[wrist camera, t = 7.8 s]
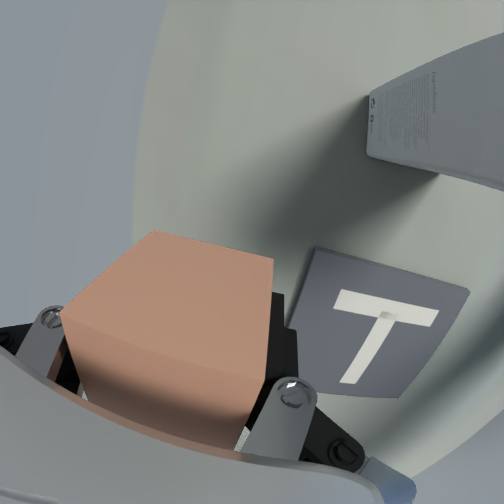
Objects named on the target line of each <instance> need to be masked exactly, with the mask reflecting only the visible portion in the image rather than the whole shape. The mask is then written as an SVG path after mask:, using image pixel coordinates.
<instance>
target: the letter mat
mask: <svg viewBox="0 0 504 504" xmlns="http://www.w3.org/2000/svg"><path fill="white" fill-rule="evenodd" d="M469 294H470V291H469V290H468V289H467V288H464V287H460V286H457V285H454V284H450V283H447V282H443V281H440V280H437V279H433V278H430V277H426V276H423V275H419V274H416V273H412V272H408V271H405V270H401V269H398V268H394V267H390V266H387V265H383V264H380V263H376V262H372V261H368V260H365V259H361V258H357V257H354V256H350V255H346V254H342V253H338V252H335V251H331V250H327V249H323V248H319V247H315V249H314V252H313V255H312V258H311V261H310V264H309V267H308V270H307V273H306V276H305V279H304V282H303V285H302V288H301V290H300V293H299V296H298V299H297V302H296V304H295V307H294V310H293V312H292V315H291V318H290V320H289V323H288V326H287V328H290V329H295V330H296V331H297V346H298V370H299V378H301V379H303V380H305V381H307V382H308V383H309V384H311V385H312V386H313V388H314V389H315V391H316V392H319V393H327V394H336V395H347V396H359V397H376V398H399V397H400V396H401V394H402V393H403V392H404V391H405V390H406V388H407V387H408V386H409V385H410V384H411V382H412V381H413V380H414V379H415V377H416V376H417V375H418V374H419V372H420V371H421V370H422V368H423V367H424V366H425V364H426V363H427V362H428V360H429V359H430V357H431V356H432V355H433V353H434V352H435V350H436V349H437V347H438V346H439V345H440V343H441V342H442V340H443V338H444V337H445V335H446V334H447V332H448V331H449V329H450V327H451V326H452V324H453V323H454V321H455V319H456V318H457V316H458V314H459V312H460V311H461V309H462V307H463V305H464V303H465V302H466V300H467V298H468V296H469Z"/></svg>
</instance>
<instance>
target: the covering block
mask: <svg viewBox="0 0 504 504" xmlns="http://www.w3.org/2000/svg"><path fill="white" fill-rule="evenodd" d="M273 266H274V259H272V258H268V257H264V256H260V255H255V254H251V253H247V252H243V251H239V250H235V249H230V248H226V247H222V246H218V245H214V244H210V243H205V242H201V241H197V240H193V239H189V238H185V237H181V236H176V235H172V234H168V233H164V232H160V231H156V230H153V231H152V232H151V233H149V234H148V235H147V236H146V237H144V238H143V239H142V240H141V241H139V242H138V243H137V244H136V245H134V246H133V247H132V248H131V249H130V250H129V251H127V252H126V253H125V254H124V255H122V256H121V257H120V258H119V259H118V260H116V261H115V262H114V263H113V264H112V265H111V266H109V267H108V268H107V269H106V270H105V271H104V272H102V273H101V274H100V275H99V276H98V277H97V278H96V279H95V280H94V281H92V282H91V283H90V284H89V285H88V286H87V287H86V288H85V289H84V290H82V291H81V292H80V293H79V294H78V295H77V296H76V297H75V298H74V299H73V300H72V301H71V302H70V303H69V304H67V305H66V306H65V307H64V308H63V309H62V310H61V311H60V312H59V313H60V318H61V322H62V325H63V329H64V333H65V336H66V340H67V343H68V347H69V350H70V353H71V356H72V359H73V362H74V365H75V368H76V371H77V373H78V376H79V379H80V381H81V384H82V386H83V389H84V391H85V394H86V396H87V398H88V401H89V402H91V403H93V404H95V405H97V406H99V407H101V408H103V409H105V410H108V411H110V412H112V413H114V414H117V415H119V416H121V417H124V418H126V419H128V420H131V421H133V422H136V423H139V424H141V425H144V426H147V427H149V428H152V429H155V430H158V431H161V432H164V433H167V434H170V435H173V436H176V437H180V438H183V439H186V440H190V441H194V442H197V443H201V444H205V445H209V446H213V447H218V448H222V449H227V450H232V451H233V450H234V448H235V446H236V444H237V441H238V439H239V437H240V435H241V433H242V431H243V429H244V426H245V424H246V422H247V420H248V418H249V415H250V413H251V411H252V409H253V406H254V404H255V402H256V399H257V397H258V395H259V392H260V390H261V388H262V385H263V383H264V381H265V370H266V359H267V347H268V335H269V323H270V309H271V296H272V281H273Z"/></svg>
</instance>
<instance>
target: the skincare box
mask: <svg viewBox="0 0 504 504" xmlns="http://www.w3.org/2000/svg"><path fill="white" fill-rule="evenodd" d="M366 153H367V155H368V156H370V157H373V158H377V159H381V160H385V161H389V162H393V163H397V164H401V165H406V166H410V167H414V168H419V169H423V170H427V171H432V172H436V173H440V174H444V175H448V176H452V177H456V178H460V179H463V180H467V181H471V182H474V183H478V184H481V185H484V186H487V187H491V188H494V189H497V190H500V191H504V33H501V34H498V35H495V36H492V37H489V38H486V39H484V40H481V41H478V42H476V43H473V44H470V45H468V46H465V47H463V48H460V49H458V50H455V51H453V52H451V53H448V54H446V55H444V56H441V57H439V58H437V59H435V60H433V61H431V62H428V63H426V64H424V65H422V66H420V67H417V68H416V69H414V70H412V71H409V72H407V73H405V74H403V75H401V76H399V77H397V78H395V79H393V80H391V81H389V82H387V83H386V84H383V85H382V86H380V87H378V88H376V89H374V90H372V91H371V92H370V96H369V120H368V134H367V147H366Z"/></svg>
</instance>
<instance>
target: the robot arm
mask: <svg viewBox="0 0 504 504" xmlns="http://www.w3.org/2000/svg"><path fill="white" fill-rule="evenodd" d="M63 308H64V307H63V306H50V307H48V308H45V309H44V310H42V311H41V312H40V313H39V315H38V316H37V318H36V320H35V321H34V323H30V324H24V325H16V326H10V327H3V328H0V504H412V502H413V500H414V498H415V495H416V485H415V483H414V482H413V481H412V480H411V479H410V478H408V477H407V476H405V475H403V474H401V473H399V472H398V471H396V470H394V469H392V468H391V467H389V466H387V465H386V464H384V463H382V462H380V461H379V460H377V459H376V458H374V457H371V458H368V457H366V456H365V452H364V450H363V448H362V446H361V445H360V444H359V443H358V442H357V441H356V440H355V439H354V438H353V437H351V436H350V435H349V434H348V433H346V432H345V431H344V430H343V429H342V428H340V427H339V426H338V425H337V424H336V423H334V422H333V421H332V420H331V419H330V418H329V417H327V416H326V415H325V414H324V413H323V412H322V411H320V410H319V409H318V408H317V407H316V403H317V394H316V391H315V389H314V388H313V386H312V385H311V384H309V383H308V382H307V381H305V380H303V379H301V378H299V370H298V346H297V331H296V330H295V329H290V328H285V327H284V294H279V293H275V292H272V296H271V309H270V323H269V335H268V347H267V359H266V370H265V381H264V383H263V385H262V388H261V390H260V392H259V395H258V397H257V399H256V402H255V404H254V406H253V409H252V411H251V413H250V415H249V418H248V420H247V422H246V424H245V426H246V427H247V428H248V430H249V431H250V434H249V436H248V438H247V440H246V442H245V443H244V445H243V447H242V449H241V451H240V452H237V451H232V450H227V449H222V448H218V447H213V446H209V445H205V444H201V443H197V442H194V441H190V440H186V439H183V438H180V437H176V436H173V435H170V434H167V433H164V432H161V431H158V430H155V429H152V428H149V427H147V426H144V425H141V424H139V423H136V422H133V421H131V420H128V419H126V418H124V417H121V416H119V415H117V414H114V413H112V412H110V411H108V410H105V409H103V408H101V407H99V406H97V405H95V404H93V403H91V402H89V401H87V400H85V399H83V398H82V394H83V390H84V389H83V386H82V384H81V381H80V379H79V376H78V373H77V371H76V368H75V365H74V362H73V359H72V356H71V353H70V350H69V347H68V343H67V340H66V336H65V333H64V329H63V325H62V322H61V318H60V313H59V312H60V311H61V310H62V309H63Z"/></svg>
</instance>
